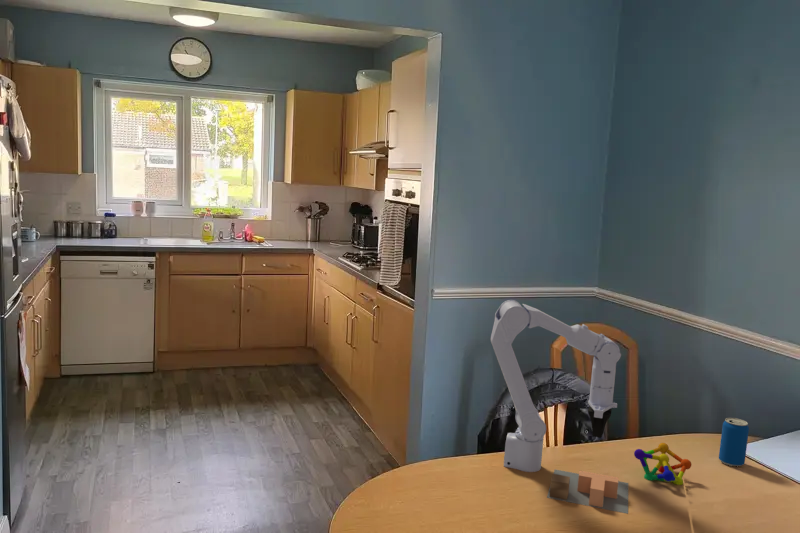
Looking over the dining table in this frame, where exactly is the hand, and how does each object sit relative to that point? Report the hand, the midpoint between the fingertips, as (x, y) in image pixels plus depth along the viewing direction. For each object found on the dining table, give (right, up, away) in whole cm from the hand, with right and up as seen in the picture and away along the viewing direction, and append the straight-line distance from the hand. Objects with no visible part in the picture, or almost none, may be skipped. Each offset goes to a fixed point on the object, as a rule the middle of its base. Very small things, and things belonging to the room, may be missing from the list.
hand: (597, 436), depth 174 cm
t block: (-5, -11, -15) cm, 19 cm away
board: (-5, -11, -11) cm, 16 cm away
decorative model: (+16, -11, -1) cm, 20 cm away
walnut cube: (-13, -10, -14) cm, 22 cm away
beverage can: (+41, -11, +13) cm, 44 cm away
